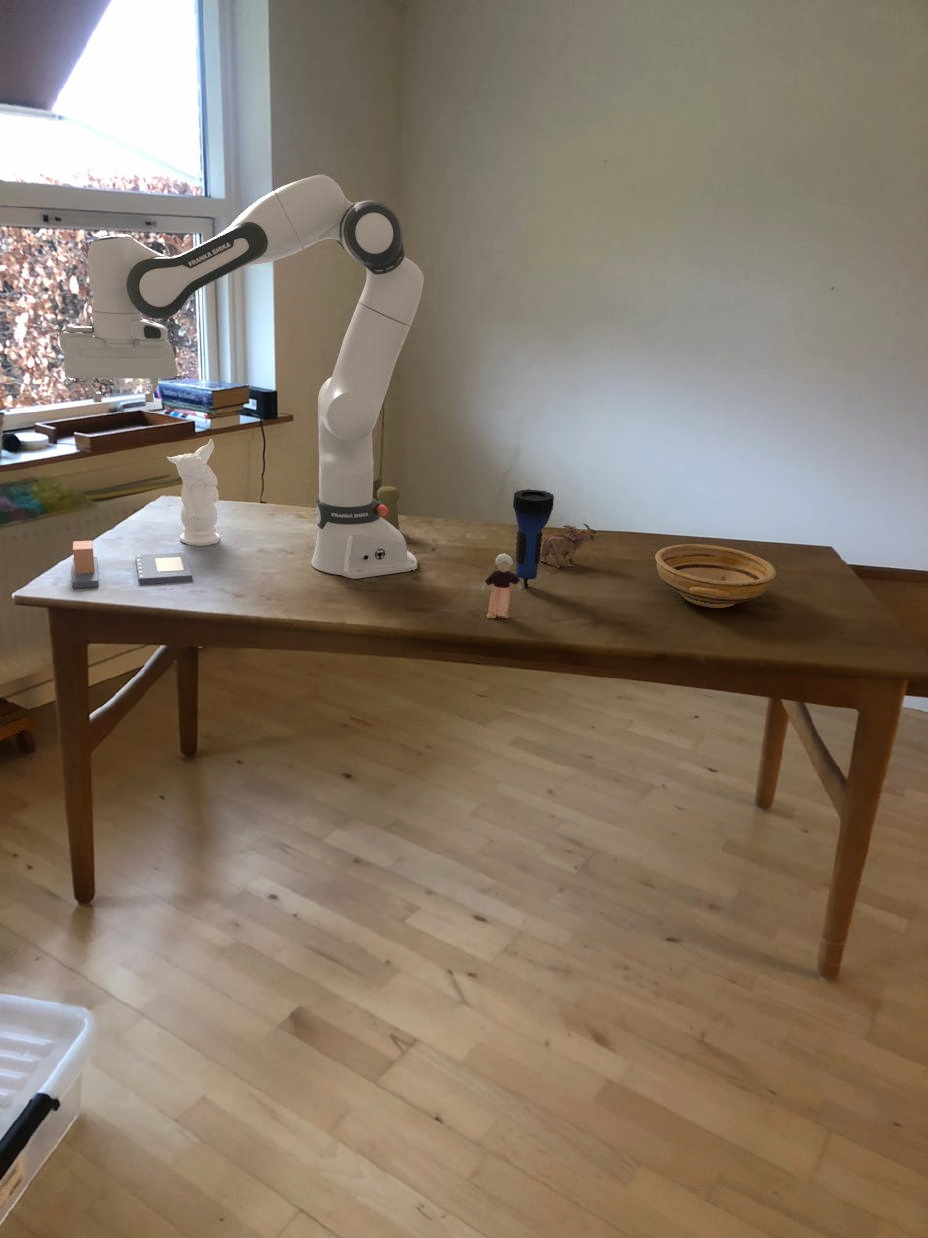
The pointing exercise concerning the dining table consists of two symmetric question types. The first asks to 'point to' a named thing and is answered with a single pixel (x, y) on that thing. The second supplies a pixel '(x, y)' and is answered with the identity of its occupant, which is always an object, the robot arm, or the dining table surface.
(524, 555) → the flashlight
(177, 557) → the grey notebook
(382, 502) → the cork
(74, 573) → the stub
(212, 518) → the white tall statuette
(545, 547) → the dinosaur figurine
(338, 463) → the robot arm
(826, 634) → the dining table surface
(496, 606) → the grandmother figurine
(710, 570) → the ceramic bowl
